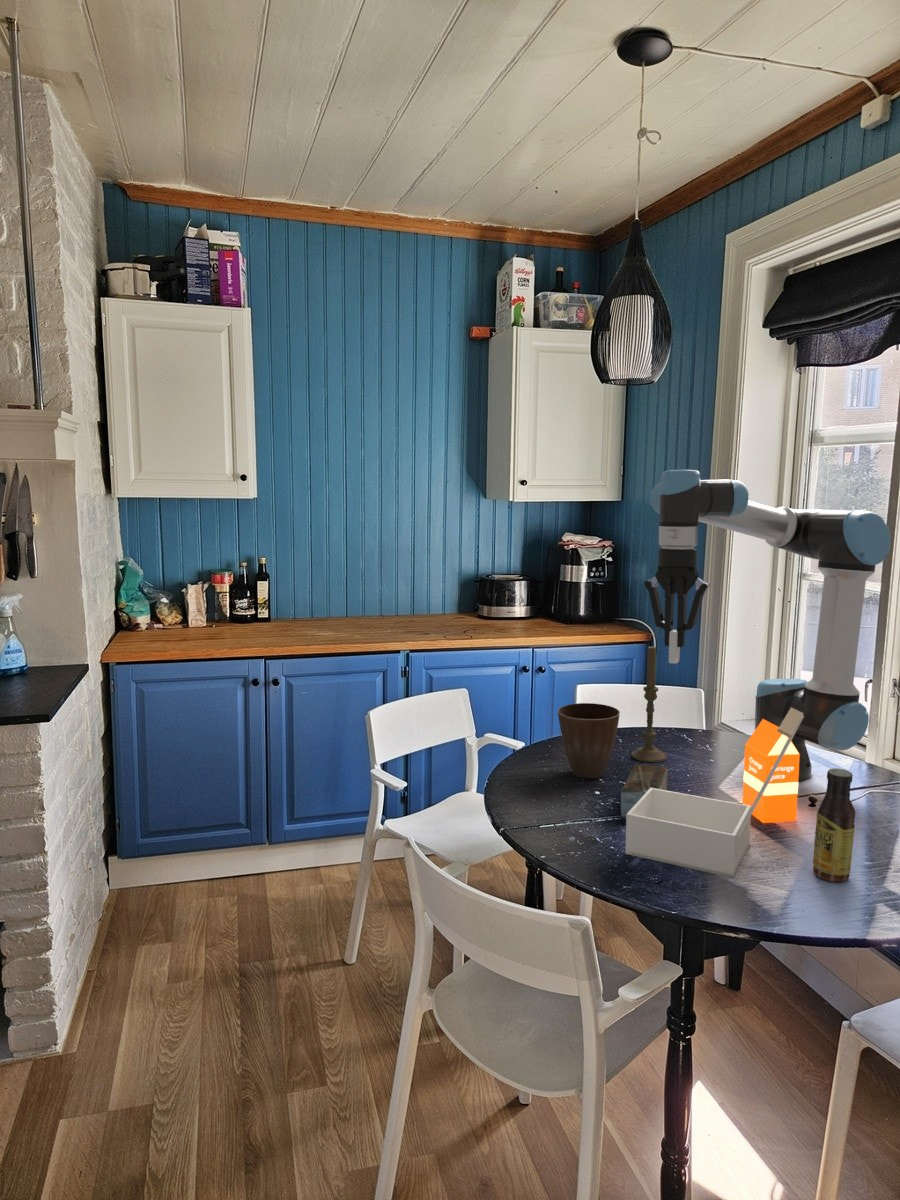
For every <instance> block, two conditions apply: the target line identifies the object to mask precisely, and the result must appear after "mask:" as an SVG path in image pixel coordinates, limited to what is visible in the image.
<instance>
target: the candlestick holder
mask: <svg viewBox="0 0 900 1200" xmlns="http://www.w3.org/2000/svg"><path fill="white" fill-rule="evenodd" d="M654 644H655V643H653V644H652V646H651V645H650V646H648V647H647V658H646V659H647V660H646V661H647V662H646V663H647V664H646V685H645V686H643V688H642V689H643V691H644V692H645V693H644V695H643V697H644V699H645V700H646V701H647V703H646V708H645V711H646V728H645V730H644V731H643V732H642V738H643V739H644V740H645V744H644V745H643V746H640V747H639V748H637V749H635V750H633V751H631V753H630V756H631V758H632V757H633V758H635V759H637V760H636V761H638V760H640V761H639V762H642V761H643V763H649V762H653V764H655V763H662V762H665V761H666V760H667V758H668V756H667V754H666V753H665V752H663V751H662V750H660V749H659V748H658V747H655V745H654V741H655V740H656V737H657V732H655V731H654V727H653V724H654V712H655V705H654V701H655V700H657V699H658V694H657V692H658V691H659V688H658V687H657V686H656V673H657V672H656V671H657V670H656V668H657V646H654ZM633 758H632V759H633ZM635 759H634V760H635Z"/></svg>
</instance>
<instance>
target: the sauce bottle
mask: <svg viewBox="0 0 900 1200" xmlns="http://www.w3.org/2000/svg"><path fill="white" fill-rule="evenodd" d="M826 779H827V784H826V791H825V792H826V793H825V794H824V796H823V798H822V801H821V803H820V805H819V807H818V809H817V811H816V819H815V821H816V822H815V830H814V834H815V835H814V844H813V845H814V846H813V847H814V848H813V857H812V866H813V867H812V868H813V869H812V870H813V873H814V875H816V877H818V878H820V879H823V881H827V882H834V883H842V882H846V881H848V880H849V878H850V873H851V870H852V869H851V867H852V859H853V849H854V848H853V846H854V837H855V836H854V835H855V819H856V818H855V817H856V810H855V807H854V805H853V803H852V801H851V799H850V797H851V786H852V785H851V784H852V782H853V773H852V772H851V771H849V770H847V769H843V768H839V767H838V768H834V767H833V768H830V769H828V770H827V773H826Z"/></svg>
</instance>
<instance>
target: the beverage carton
mask: <svg viewBox="0 0 900 1200" xmlns="http://www.w3.org/2000/svg"><path fill="white" fill-rule="evenodd" d="M650 788H656V789H661V790H667V791H668V767H667V765H666V766H665V765H654V764H643V763H635V764H634V765H633V768H632V769H631V771H630V773H629V776H627V779H626V781H625V783H624V785H623V787H622V789H621V791H620V805H619V806H620V809H619V810H620V815H621V817H623V818H626V814H627V813H628V812H629V811H630V810H631V809H632V808H633V806H634V805H635V804H636V803H637V802H638V801H639V800H640V799H641V798H642V796H643V795H644V794H645V793H646V792H647V791H648V790H649V789H650Z"/></svg>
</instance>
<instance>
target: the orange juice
mask: <svg viewBox="0 0 900 1200" xmlns="http://www.w3.org/2000/svg"><path fill="white" fill-rule="evenodd" d="M778 728H779V727H778V726H776V725H774V724H772V723H770V722H768V721H766V720H764V719H763V720H762V721H761V722H760V724H759V725H758V727H757V728H756V730H755V729H754V731H753V732H752V734H751V736H750V737H749V739H748V740H747V742H746V743H745V744H744V758H743V759H744V760H743V762H744V764H743V780H742V782H743V784H742V785H743V787H742V804H745V805H750V806H751V807H752V805H753V803H754V801H755V799H756V798H757V796H758V794H759V792H760V790H761V788H762V786H763V785H764V783H765V781H766V779H767V777H768V775H769V773H770V771H771V770H772V768H773V766H774V764H775V762H776V760H777V758H778V756H779V755H780V753H781V751H782V749H783V747H784V745H785V743H786V741H787V740H788V738H789V737H787V736H785V735H783V734H781V733H779V732H777V730H778ZM799 758H800V754H799V752H798V751H797V749H796V748H795V746H794V744H793V743H792V741H791V742H790V744H789V746H788V748H787V750H786V751H785V753H784V755H783V757H782V759H781V761H780V763H779V765H778V766H777V768H776V770H775V772H774V774H773V776H772V778H771V779H770V781H769V783H768V785H767V787H766V789H765V791H764V792H763V794H762V796H761V798H760V800H759V802H758V804H757V806H756V807H755V809H754V811H753V813H752V815H751V816H753V817H755V818H756V820H759V821H760V822H761V823H762V824H771V823H781V822H782V823H784V822H796V821H797V814H798V813H797V810H798V807H797V806H798V795H799V794H798V793H799V781H798V776H799Z"/></svg>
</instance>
